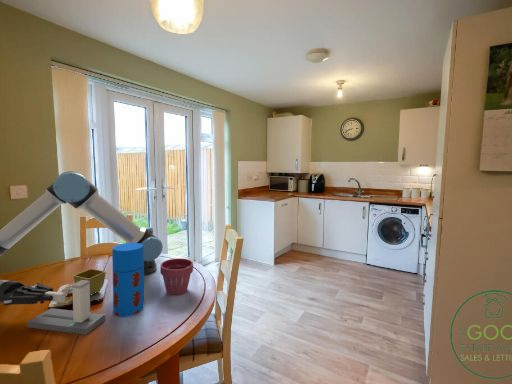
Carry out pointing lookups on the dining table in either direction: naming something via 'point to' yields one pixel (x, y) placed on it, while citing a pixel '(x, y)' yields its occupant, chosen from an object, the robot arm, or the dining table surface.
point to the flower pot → (92, 279)
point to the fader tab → (81, 300)
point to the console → (65, 321)
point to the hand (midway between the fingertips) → (63, 297)
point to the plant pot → (176, 275)
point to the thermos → (128, 279)
